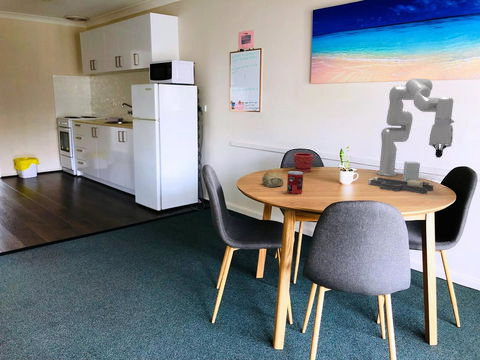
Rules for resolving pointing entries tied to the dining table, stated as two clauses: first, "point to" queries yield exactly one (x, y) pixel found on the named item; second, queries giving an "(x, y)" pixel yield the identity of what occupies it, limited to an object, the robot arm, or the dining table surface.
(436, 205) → the dining table surface
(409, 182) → the birch block
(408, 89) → the robot arm
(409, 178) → the supplement box
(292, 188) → the canned food
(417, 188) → the trap channel
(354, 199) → the dining table surface
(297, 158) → the plant pot
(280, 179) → the pastry
